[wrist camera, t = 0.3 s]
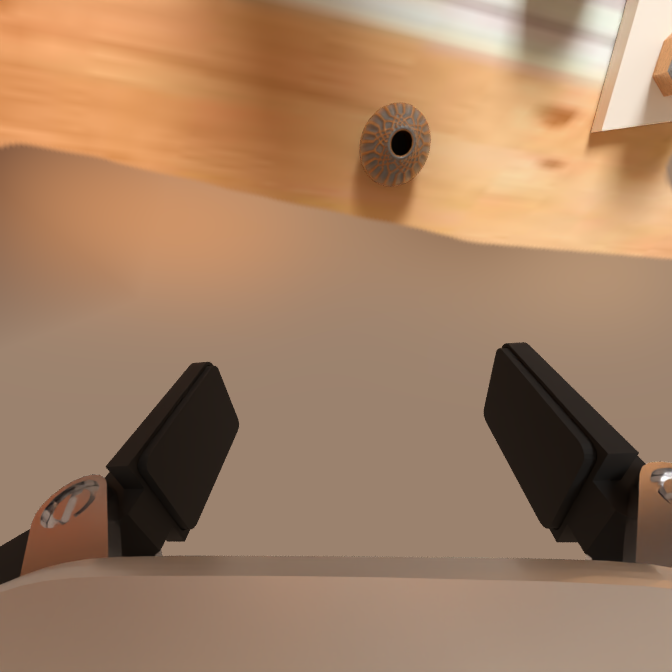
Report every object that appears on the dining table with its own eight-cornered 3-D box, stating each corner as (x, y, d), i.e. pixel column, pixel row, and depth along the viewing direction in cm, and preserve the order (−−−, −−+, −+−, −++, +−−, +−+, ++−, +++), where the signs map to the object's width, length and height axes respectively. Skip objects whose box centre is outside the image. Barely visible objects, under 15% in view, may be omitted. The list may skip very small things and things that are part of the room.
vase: (398, 93, 29) (414, 65, 21) (433, 153, 31) (459, 148, 24) (346, 145, 31) (344, 137, 24) (382, 198, 34) (391, 205, 26)
